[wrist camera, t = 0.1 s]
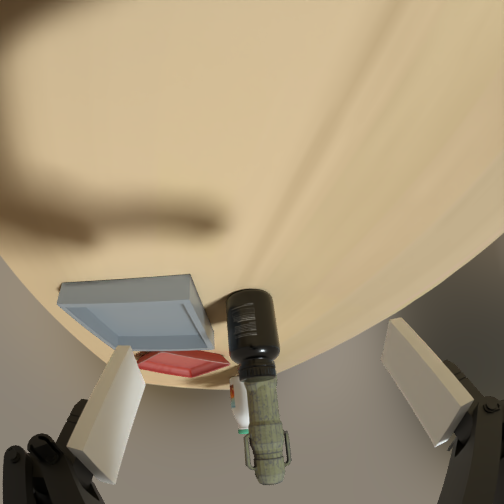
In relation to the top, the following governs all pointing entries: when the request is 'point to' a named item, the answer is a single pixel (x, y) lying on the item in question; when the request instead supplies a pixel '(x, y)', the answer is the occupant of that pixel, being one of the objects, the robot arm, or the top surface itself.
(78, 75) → the top surface
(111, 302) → the tray
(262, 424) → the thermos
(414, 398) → the robot arm
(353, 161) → the top surface
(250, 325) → the supplement bottle
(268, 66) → the top surface
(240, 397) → the milk bottle
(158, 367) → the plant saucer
